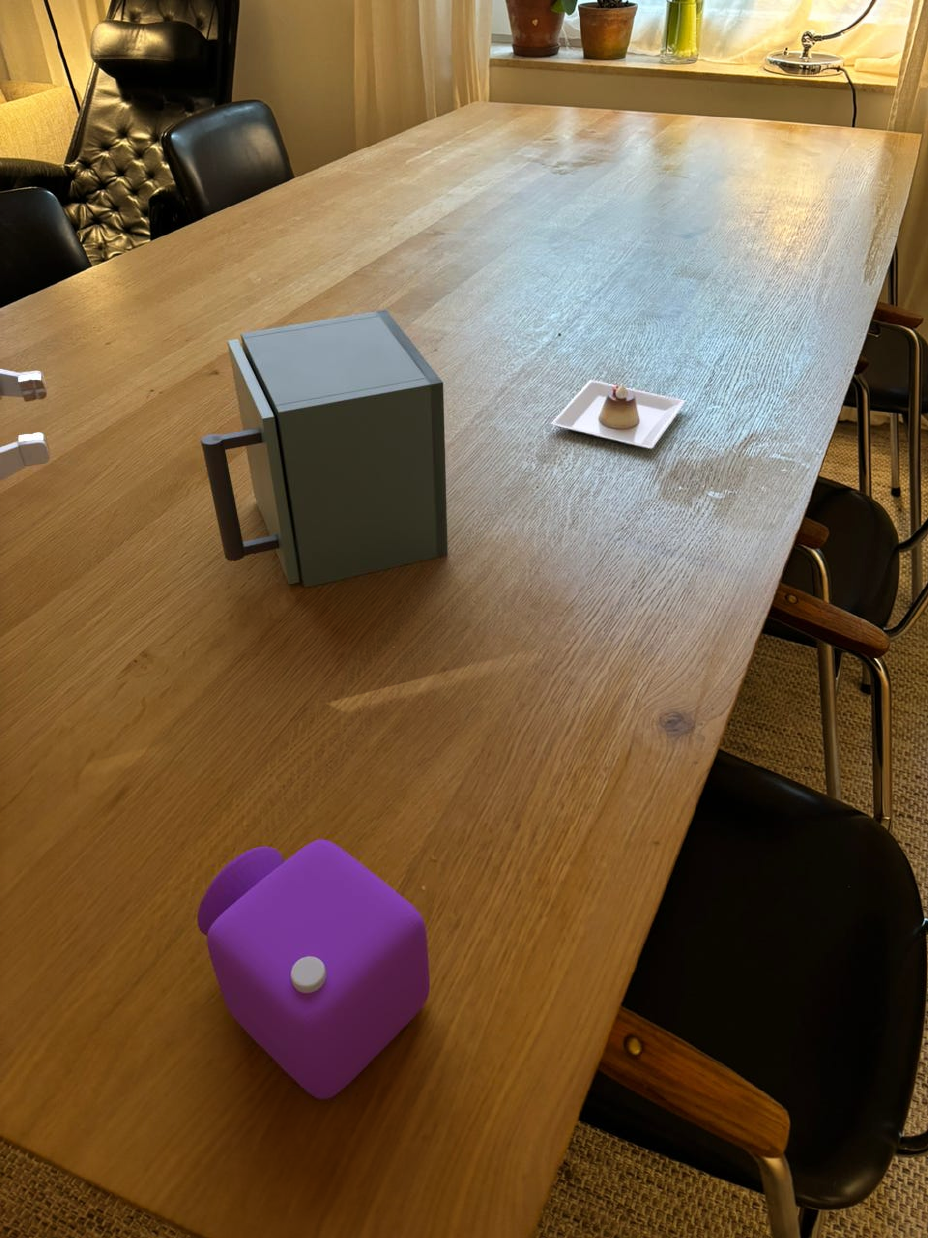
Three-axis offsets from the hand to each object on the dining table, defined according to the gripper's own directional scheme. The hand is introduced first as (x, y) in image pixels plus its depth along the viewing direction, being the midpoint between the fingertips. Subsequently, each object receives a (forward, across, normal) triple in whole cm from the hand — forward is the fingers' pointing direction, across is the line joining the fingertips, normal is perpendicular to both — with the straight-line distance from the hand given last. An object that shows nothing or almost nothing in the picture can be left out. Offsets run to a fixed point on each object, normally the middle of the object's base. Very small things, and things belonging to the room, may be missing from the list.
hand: (46, 414), depth 75 cm
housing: (+24, +6, +20) cm, 32 cm away
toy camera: (+10, -42, +18) cm, 47 cm away
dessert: (+58, +16, +20) cm, 63 cm away
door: (+14, +5, +20) cm, 25 cm away
